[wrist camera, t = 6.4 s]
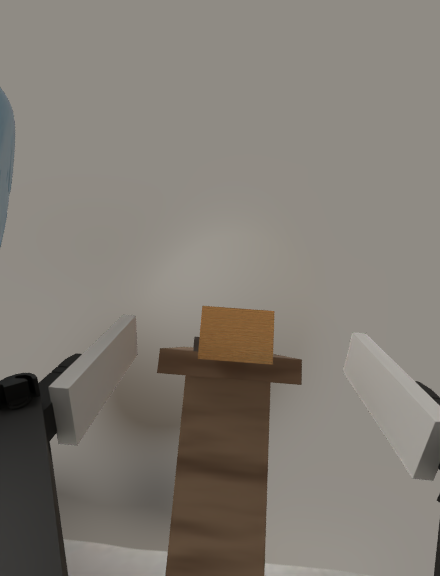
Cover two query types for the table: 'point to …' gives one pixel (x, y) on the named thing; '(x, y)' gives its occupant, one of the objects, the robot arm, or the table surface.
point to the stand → (222, 462)
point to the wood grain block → (236, 335)
